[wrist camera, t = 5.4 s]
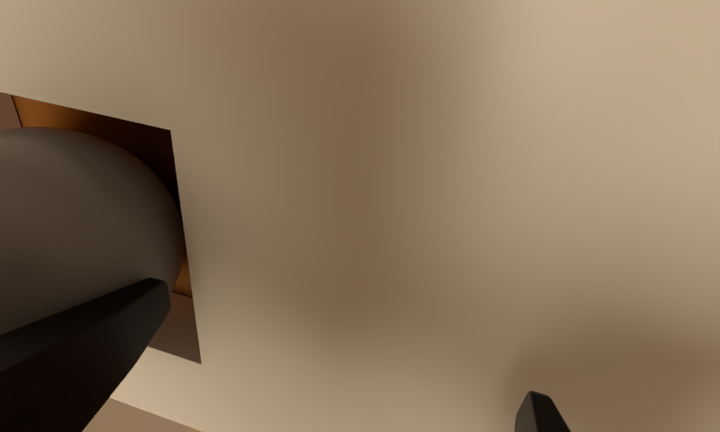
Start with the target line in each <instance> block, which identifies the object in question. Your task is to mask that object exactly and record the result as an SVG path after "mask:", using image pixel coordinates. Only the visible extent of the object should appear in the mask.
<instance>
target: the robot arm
mask: <svg viewBox="0 0 720 432" xmlns="http://www.w3.org/2000/svg"><path fill="white" fill-rule="evenodd" d="M170 309H171V301H170V295H169V289H168V284H167V283H166V281H164V280H160V279H157V278H153V277H150V278H146V279H143V280H141V281H138V282H136V283H133V284H131V285H128V286H125V287H123V288H120V289H118V290H115V291H113V292H110V293H107V294H105V295H102V296H100V297H97V298H94V299H92V300H89V301H87V302H84V303H82V304H79V305H76V306H74V307H71V308H69V309H66V310H63V311H61V312H58V313H56V314H53V315H51V316H48V317H45V318H43V319H40V320H38V321H35V322H32V323H30V324H27V325H25V326H22V327H20V328H17V329H14V330H12V331H9V332H7V333H4V334H1V335H0V432H82V431H83V430H84V428H85V427H86V426H87V425H88V423H89V422H90V421H91V420H92V418H93V417H94V416H95V415H96V413H97V412H98V411H99V410H100V408H101V407H102V406H103V405H104V403H105V402H106V401H107V400H108V398H109V397H110V396H111V395H112V393H113V392H114V391H115V390H116V388H117V387H118V386H119V385H120V383H121V382H122V381H123V380H124V378H125V377H126V376H127V375H128V373H129V372H130V371H131V369H132V368H133V367H134V366H135V364H136V363H137V361H138V360H139V358H140V357H141V355H142V354H143V352H144V351H145V349H146V348H147V346H148V345H149V343H150V342H151V340H152V338H153V337H154V335H155V334H156V332H157V331H158V329H159V328H160V326H161V325H162V323H163V322H164V320H165V319H166V317H167V316H168V314H169V312H170ZM514 432H571V431H570V429H569V427H568V426H567V424H566V422H565V421H564V419H563V417H562V416H561V414H560V412H559V411H558V409H557V407H556V405H555V404H554V402H553V400H552V399H551V398H550V397H549V396H548V395H546V394H542V393H539V392H536V391H529V392H528V393H527V394H526V396H525V398H524V400H523V402H522V404H521V406H520V408H519V410H518V412H517V415H516V419H515V429H514Z"/></svg>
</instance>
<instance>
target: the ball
mask: <svg viewBox="0 0 720 432" xmlns="http://www.w3.org/2000/svg"><path fill="white" fill-rule="evenodd" d="M183 253H184V235H183V229H182V223H181V219H180V215H179V212H178V210H177V207H176V205H175V203H174V200H173V198H172V196H171V195H170V193H169V192H168V190H167V188H166V187H165V185H164V184H163V183H162V181H161V180H160V179H159V178H158V177H157V176H156V174H155V173H154V172H153V171H152V170H151V169H150V168H149V167H148V166H146V165H145V164H144V163H143V162H142V161H140V160H139V159H138V158H137V157H135V156H134V155H132V154H130V153H129V152H127V151H126V150H124V149H122V148H121V147H119V146H117V145H115V144H113V143H110V142H108V141H106V140H104V139H101V138H98V137H95V136H92V135H89V134H86V133H82V132H77V131H72V130H66V129H60V128H52V127H21V128H10V129H4V130H0V335H1V334H4V333H7V332H9V331H12V330H14V329H17V328H20V327H22V326H25V325H27V324H30V323H32V322H35V321H38V320H40V319H43V318H45V317H48V316H51V315H53V314H56V313H58V312H61V311H63V310H66V309H69V308H71V307H74V306H76V305H79V304H82V303H84V302H87V301H89V300H92V299H94V298H97V297H100V296H102V295H105V294H107V293H110V292H113V291H115V290H118V289H120V288H123V287H125V286H128V285H131V284H133V283H136V282H138V281H141V280H143V279H146V278H150V277H153V278H157V279H160V280H164V281H166V283H167V284H168V289H169V295H170V294H171V293H172V291H173V289H174V287H175V285H176V282H177V280H178V277H179V274H180V270H181V266H182V260H183Z"/></svg>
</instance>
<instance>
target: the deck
mask: <svg viewBox="0 0 720 432" xmlns="http://www.w3.org/2000/svg"><path fill="white" fill-rule="evenodd" d="M11 95H16V96H20V97H25V98H29V99H34V100H38V101H43V102H47V103H52V104H56V105H61V106H65V107H69V108H74V109H78V110H83V111H87V112H92V113H96V114H101V115H105V116H110V117H114V118H119V119H123V120H128V121H132V122H136V123H141V124H145V125H150V126H154V127H159V128H163V129H168V130H171V138H172V145H173V153H174V160H175V168H176V175H177V183H178V190H179V198H180V205H181V213H182V220H183V228H184V235H185V243H186V250H187V258H188V265H189V273H190V280H191V288H192V295H193V298H190V297H187V296H183V295H180V294H177V293H173V292H172V293H171V294H170V301H171V309H170V312H169V314H168V316H167V317H166V319H165V320H164V322H163V323H162V325H161V326H160V328H159V329H158V331H157V332H156V334H155V335H154V337H153V338H152V340H151V342H150V343H149V345H148V346H147V348H146V349H145V351H144V352H143V354H142V355H141V357H140V358H139V360H138V361H137V363H136V364H135V366H134V367H133V368H132V369H131V371H130V372H129V373H128V375H127V376H126V377H125V378H124V380H123V381H122V382H121V383H120V385H119V386H118V387H117V388H116V390H115V391H114V392H113V393H112V395H111V396H110V397H109V398H112V399H115V400H117V401H120V402H123V403H126V404H129V405H131V406H134V407H137V408H139V409H142V410H145V411H148V412H150V413H153V414H156V415H158V416H161V417H164V418H167V419H169V420H172V421H175V422H178V423H180V424H183V425H186V426H189V427H191V428H194V429H197V430H199V431H202V432H514V429H515V419H516V415H517V412H518V410H519V408H520V406H521V404H522V402H523V400H524V398H525V396H526V394H527V393H528V392H529V391H536V392H539V393H542V394H546V395H548V396H549V397H550V398H551V399H552V400H553V402H554V404H555V405H556V407H557V409H558V411H559V412H560V414H561V416H562V417H563V419H564V421H565V422H566V424H567V426H568V427H569V429H570V431H571V432H720V0H0V130H4V129H10V128H21V125H20V121H19V118H18V115H17V112H16V109H15V106H14V103H13V100H12V97H11Z"/></svg>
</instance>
